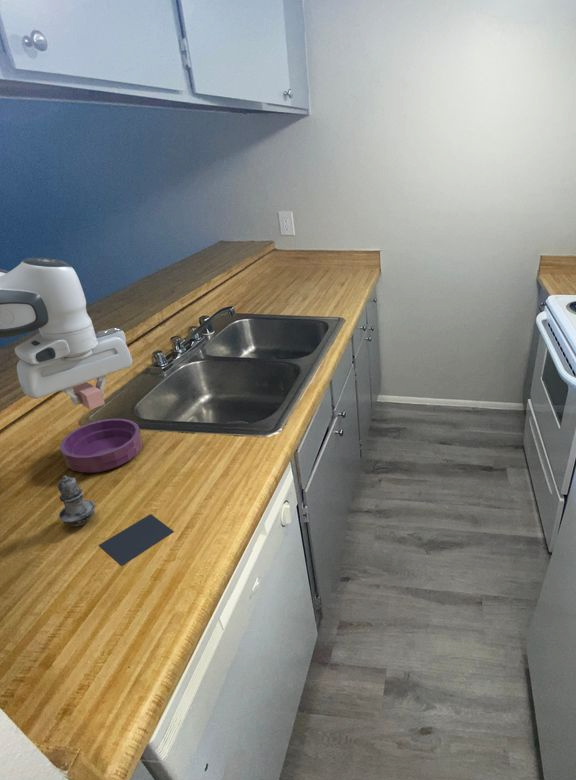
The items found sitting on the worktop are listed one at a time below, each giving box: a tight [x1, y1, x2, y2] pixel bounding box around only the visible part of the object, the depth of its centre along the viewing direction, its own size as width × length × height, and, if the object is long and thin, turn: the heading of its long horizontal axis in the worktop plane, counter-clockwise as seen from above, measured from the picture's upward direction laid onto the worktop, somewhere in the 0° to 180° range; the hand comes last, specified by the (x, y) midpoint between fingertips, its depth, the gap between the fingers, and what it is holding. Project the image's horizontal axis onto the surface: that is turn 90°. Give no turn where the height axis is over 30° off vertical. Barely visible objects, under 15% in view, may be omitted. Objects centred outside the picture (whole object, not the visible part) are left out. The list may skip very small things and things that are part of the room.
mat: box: [98, 513, 175, 567], centre depth 88 cm, size 10×8×1 cm
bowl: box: [59, 418, 144, 474], centre depth 109 cm, size 16×16×5 cm
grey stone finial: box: [57, 474, 96, 527], centre depth 88 cm, size 6×6×12 cm
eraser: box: [72, 381, 106, 411], centre depth 101 cm, size 6×3×4 cm, turn 56°
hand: (88, 399), depth 101 cm, fingers closed on eraser, 3 cm apart
